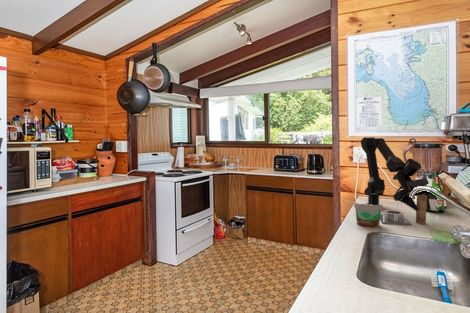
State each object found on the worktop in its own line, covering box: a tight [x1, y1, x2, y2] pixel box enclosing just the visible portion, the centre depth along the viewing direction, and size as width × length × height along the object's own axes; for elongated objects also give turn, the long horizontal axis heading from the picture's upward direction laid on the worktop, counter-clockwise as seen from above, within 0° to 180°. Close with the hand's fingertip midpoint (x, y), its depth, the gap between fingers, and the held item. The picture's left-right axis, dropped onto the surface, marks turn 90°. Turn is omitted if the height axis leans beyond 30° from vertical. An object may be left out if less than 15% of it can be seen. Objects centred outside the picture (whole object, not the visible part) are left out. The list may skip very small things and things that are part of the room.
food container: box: [353, 201, 384, 228], centre depth 138 cm, size 12×6×10 cm, turn 70°
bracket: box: [379, 209, 412, 226], centre depth 146 cm, size 12×12×4 cm
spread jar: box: [426, 188, 441, 213], centre depth 164 cm, size 12×11×12 cm
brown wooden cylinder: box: [415, 195, 427, 225], centre depth 141 cm, size 4×4×13 cm
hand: (423, 209), depth 140 cm, fingers open, 6 cm apart
